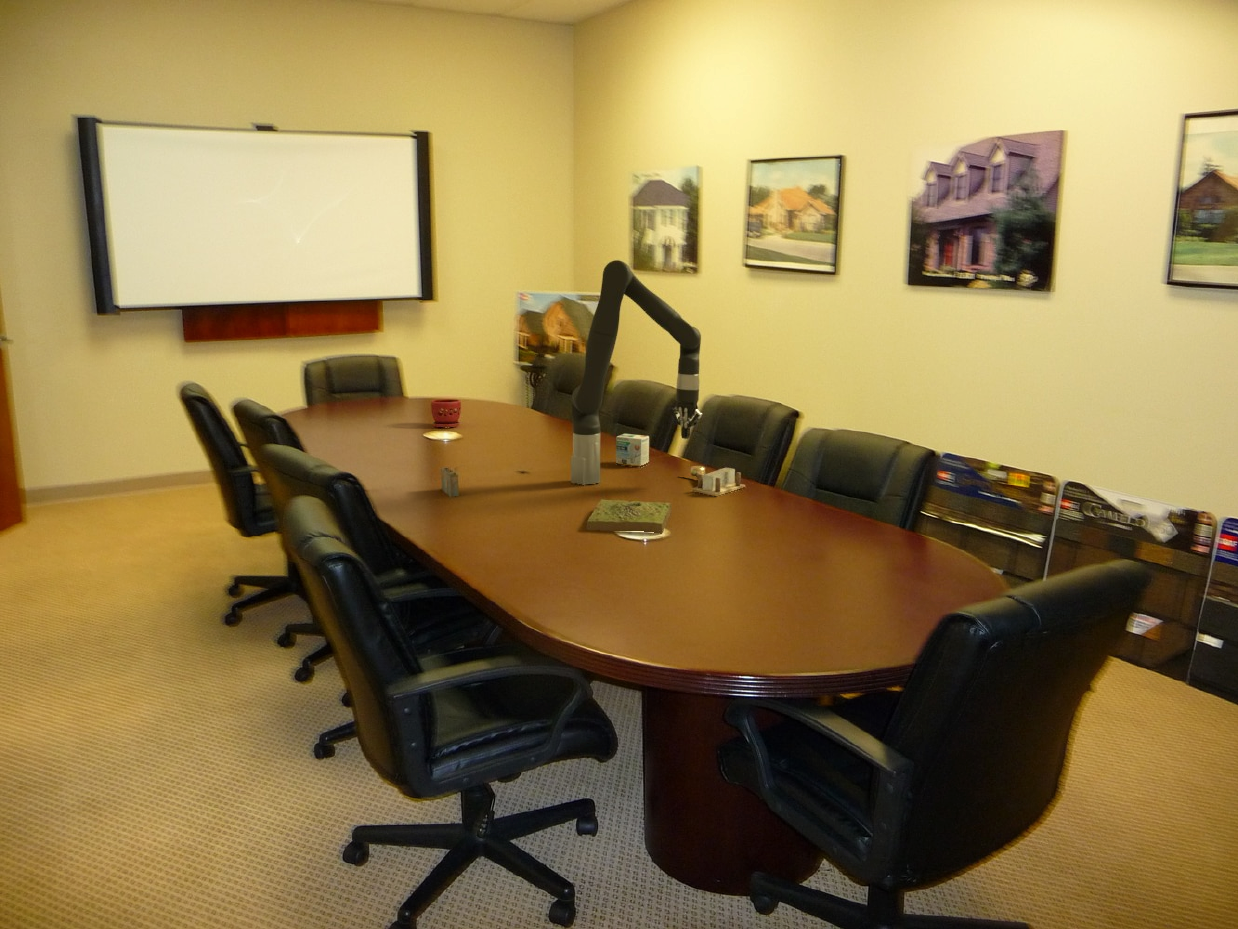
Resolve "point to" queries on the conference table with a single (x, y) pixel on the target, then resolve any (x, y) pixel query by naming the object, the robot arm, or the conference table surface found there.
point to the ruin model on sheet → (449, 481)
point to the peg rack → (717, 486)
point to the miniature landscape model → (629, 516)
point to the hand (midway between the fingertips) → (685, 438)
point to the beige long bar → (697, 470)
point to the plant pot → (446, 412)
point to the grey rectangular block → (725, 475)
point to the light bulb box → (632, 449)
